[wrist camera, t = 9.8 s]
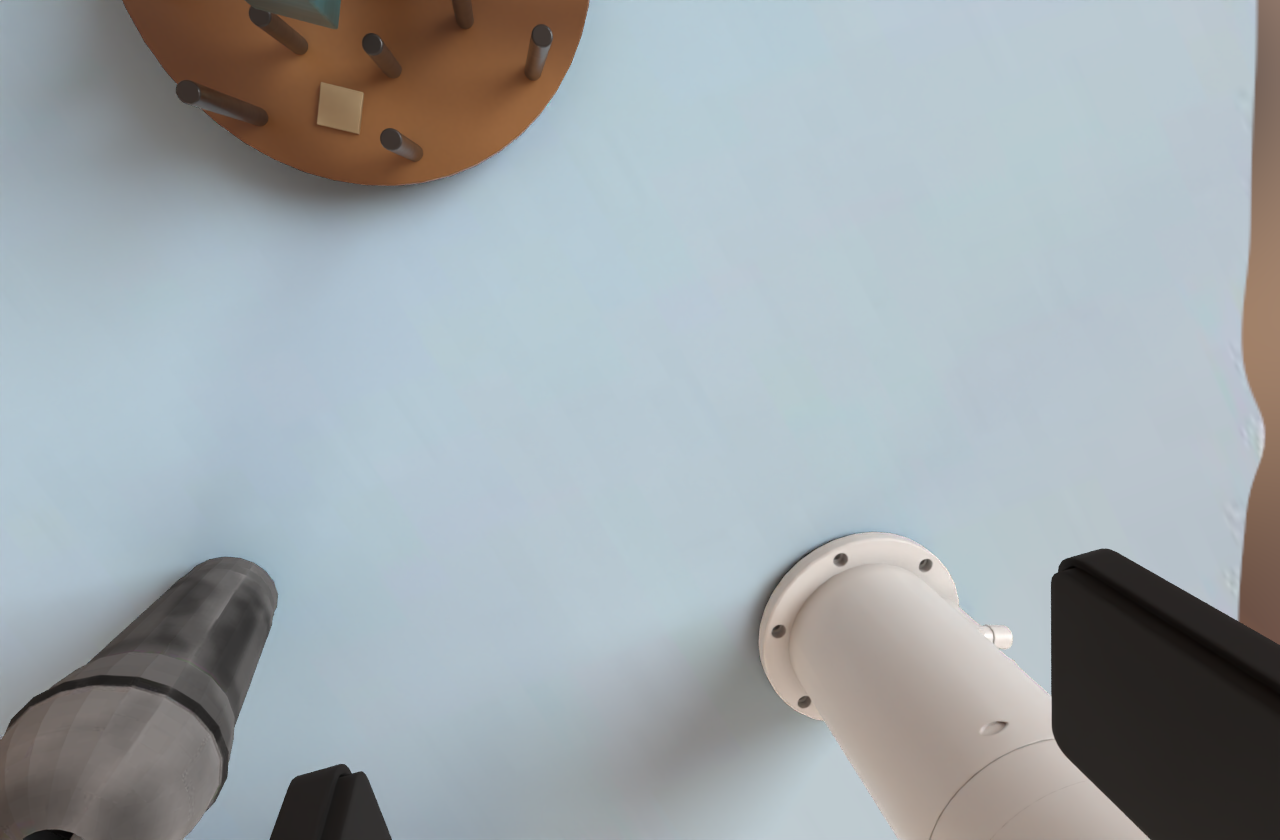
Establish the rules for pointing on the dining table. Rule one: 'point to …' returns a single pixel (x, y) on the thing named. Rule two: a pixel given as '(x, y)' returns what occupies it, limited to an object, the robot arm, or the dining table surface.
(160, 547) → the dining table surface
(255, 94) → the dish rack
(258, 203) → the dining table surface
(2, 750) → the beverage cup
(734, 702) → the dining table surface
